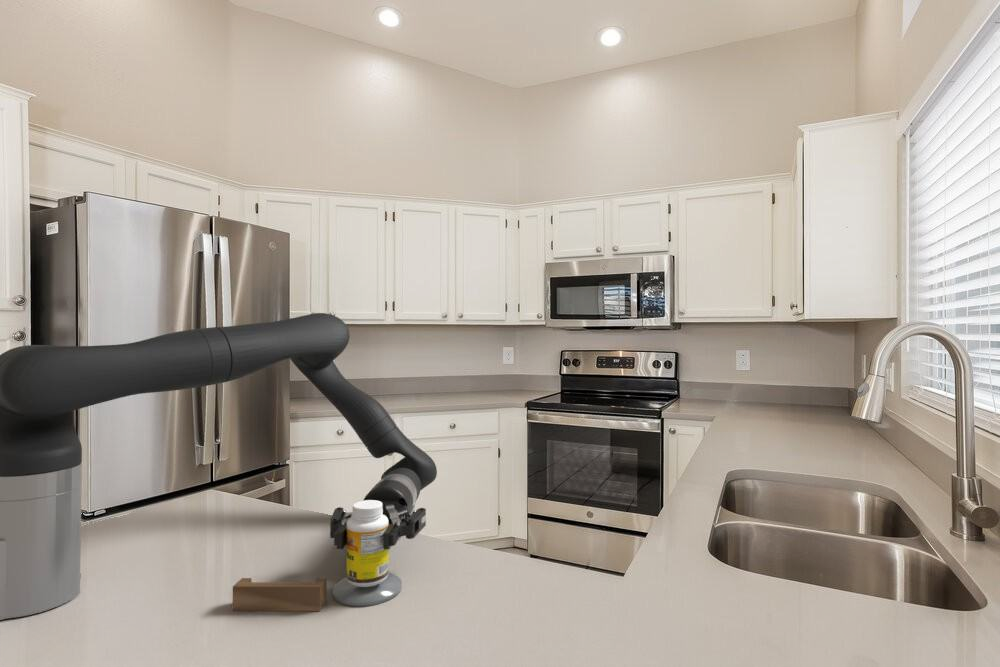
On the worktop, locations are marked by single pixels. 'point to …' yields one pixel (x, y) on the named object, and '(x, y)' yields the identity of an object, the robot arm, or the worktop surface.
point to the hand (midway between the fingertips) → (362, 541)
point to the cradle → (279, 595)
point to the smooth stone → (367, 592)
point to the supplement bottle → (367, 544)
